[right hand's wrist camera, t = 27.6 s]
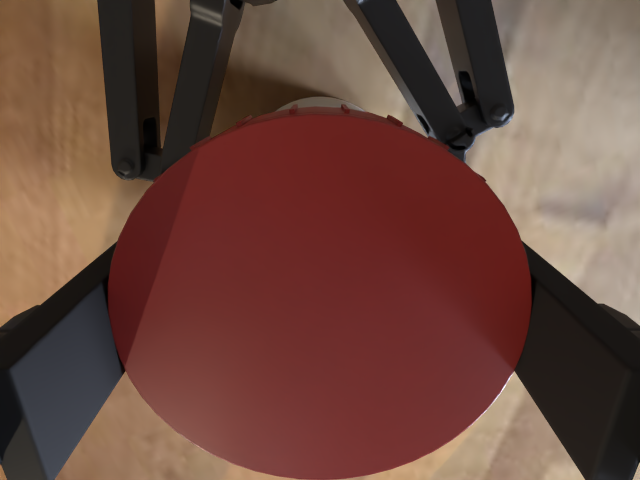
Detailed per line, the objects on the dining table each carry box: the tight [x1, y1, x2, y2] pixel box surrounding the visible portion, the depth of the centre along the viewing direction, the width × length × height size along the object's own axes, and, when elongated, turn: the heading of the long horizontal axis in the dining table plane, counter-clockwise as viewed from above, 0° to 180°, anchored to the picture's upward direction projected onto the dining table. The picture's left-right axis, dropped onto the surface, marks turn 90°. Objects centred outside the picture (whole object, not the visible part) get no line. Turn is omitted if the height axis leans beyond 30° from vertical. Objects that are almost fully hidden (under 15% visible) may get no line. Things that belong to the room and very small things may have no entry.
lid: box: [108, 104, 532, 480], centre depth 11 cm, size 10×10×2 cm
